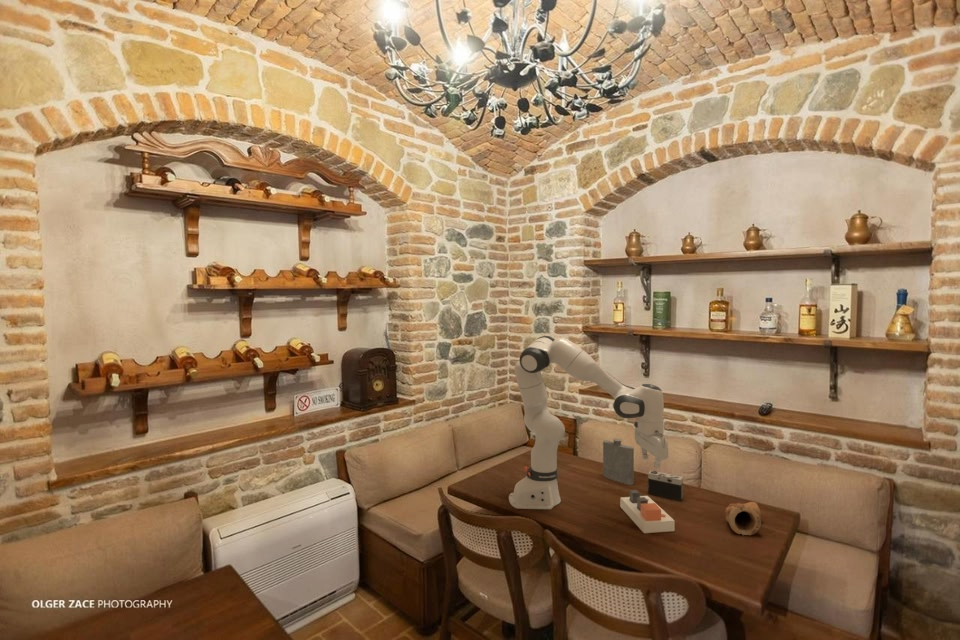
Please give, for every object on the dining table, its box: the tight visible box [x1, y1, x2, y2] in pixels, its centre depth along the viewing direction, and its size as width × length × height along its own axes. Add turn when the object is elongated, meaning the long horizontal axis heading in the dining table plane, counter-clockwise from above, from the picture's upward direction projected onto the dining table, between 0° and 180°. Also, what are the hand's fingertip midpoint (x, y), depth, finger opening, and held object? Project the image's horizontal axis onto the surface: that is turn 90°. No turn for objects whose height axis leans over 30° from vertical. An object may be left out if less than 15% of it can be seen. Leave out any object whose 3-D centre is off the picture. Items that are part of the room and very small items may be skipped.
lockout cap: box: [641, 502, 662, 521], centre depth 180 cm, size 6×6×4 cm
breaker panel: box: [619, 495, 676, 534], centre depth 187 cm, size 12×22×4 cm, turn 6°
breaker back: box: [629, 489, 641, 503], centre depth 194 cm, size 3×3×4 cm
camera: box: [647, 470, 684, 502], centre depth 209 cm, size 14×8×10 cm, turn 54°
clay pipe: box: [724, 501, 762, 536], centre depth 179 cm, size 19×11×15 cm
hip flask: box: [602, 438, 635, 486], centre depth 225 cm, size 16×4×20 cm, turn 42°
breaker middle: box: [637, 497, 648, 511], centre depth 187 cm, size 3×3×4 cm
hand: (651, 463), depth 179 cm, fingers open, 8 cm apart
